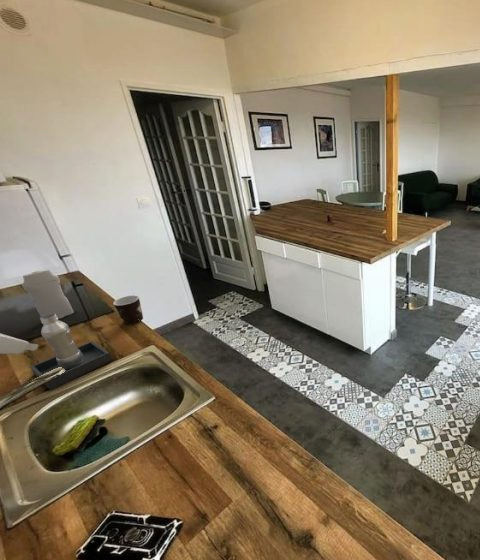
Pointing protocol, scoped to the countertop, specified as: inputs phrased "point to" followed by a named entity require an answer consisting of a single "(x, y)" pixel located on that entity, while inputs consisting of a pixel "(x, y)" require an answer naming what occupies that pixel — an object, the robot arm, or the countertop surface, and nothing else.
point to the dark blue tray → (92, 360)
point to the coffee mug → (129, 309)
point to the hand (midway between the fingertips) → (25, 344)
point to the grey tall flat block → (47, 293)
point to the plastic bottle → (61, 341)
